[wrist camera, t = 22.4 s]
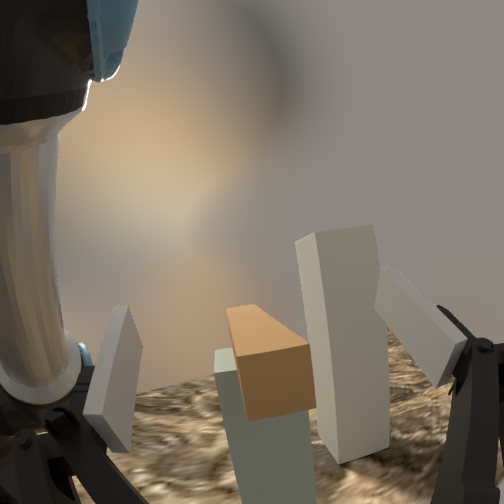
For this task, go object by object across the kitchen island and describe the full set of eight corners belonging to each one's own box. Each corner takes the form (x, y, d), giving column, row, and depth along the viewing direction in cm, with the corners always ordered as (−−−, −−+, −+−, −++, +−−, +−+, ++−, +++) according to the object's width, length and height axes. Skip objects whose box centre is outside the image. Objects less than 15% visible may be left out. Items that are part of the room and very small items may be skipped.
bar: (247, 421, 12) (236, 356, 12) (230, 335, 33) (225, 308, 33) (316, 407, 12) (309, 343, 12) (257, 331, 33) (253, 304, 33)
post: (338, 464, 34) (314, 232, 37) (318, 434, 44) (294, 241, 47) (389, 447, 35) (372, 224, 38) (362, 422, 45) (343, 235, 47)
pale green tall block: (258, 561, 18) (214, 372, 20) (251, 521, 25) (215, 349, 27) (319, 549, 19) (302, 358, 20) (303, 511, 26) (282, 339, 27)
